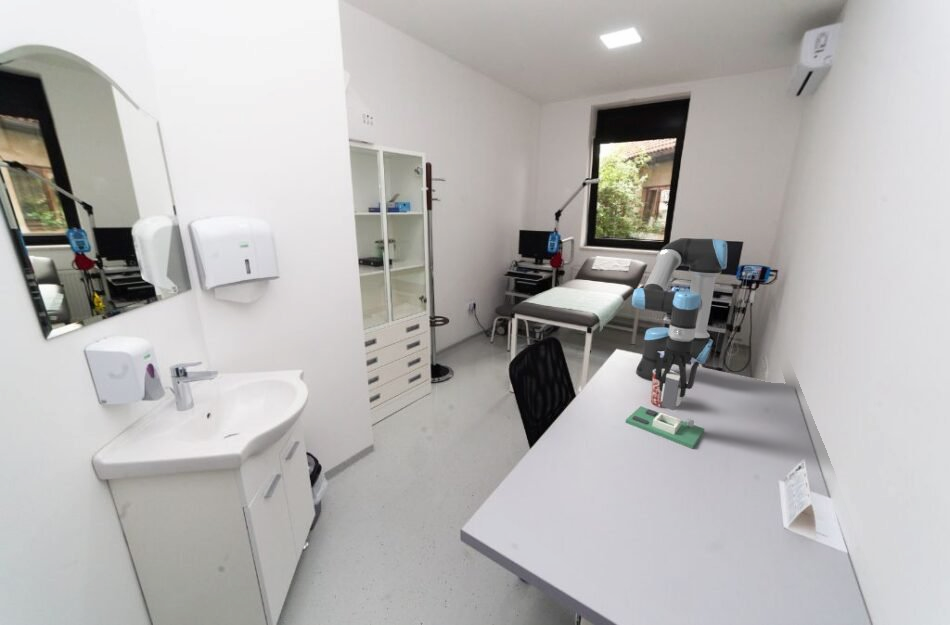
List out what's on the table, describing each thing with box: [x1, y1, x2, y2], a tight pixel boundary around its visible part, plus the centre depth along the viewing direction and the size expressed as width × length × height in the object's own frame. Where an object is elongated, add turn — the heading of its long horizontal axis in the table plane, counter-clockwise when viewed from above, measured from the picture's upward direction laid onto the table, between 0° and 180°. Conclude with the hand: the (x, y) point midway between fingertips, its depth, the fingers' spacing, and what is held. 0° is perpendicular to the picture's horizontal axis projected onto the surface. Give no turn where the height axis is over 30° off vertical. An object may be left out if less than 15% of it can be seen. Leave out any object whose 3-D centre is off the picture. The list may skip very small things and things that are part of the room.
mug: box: [650, 369, 675, 409], centre depth 147 cm, size 13×9×14 cm
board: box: [625, 405, 705, 449], centre depth 131 cm, size 14×22×4 cm, turn 46°
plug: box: [662, 370, 681, 411], centre depth 126 cm, size 4×4×12 cm
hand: (670, 402), depth 127 cm, fingers closed on plug, 4 cm apart
